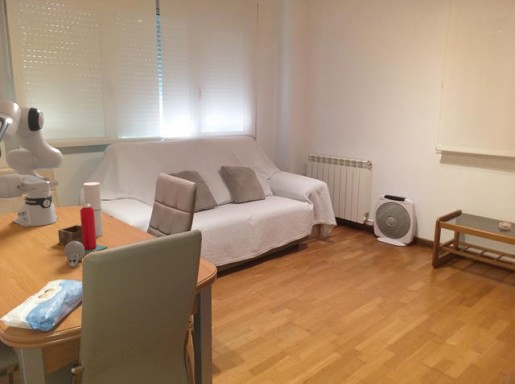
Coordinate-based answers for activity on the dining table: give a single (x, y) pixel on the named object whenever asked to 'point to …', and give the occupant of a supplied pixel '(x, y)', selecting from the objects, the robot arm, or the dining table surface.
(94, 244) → the red bottle
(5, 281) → the dining table surface
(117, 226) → the dining table surface
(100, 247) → the mat
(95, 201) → the cylindrical container
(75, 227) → the brown open wooden box
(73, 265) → the grey animal figurine
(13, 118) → the robot arm
